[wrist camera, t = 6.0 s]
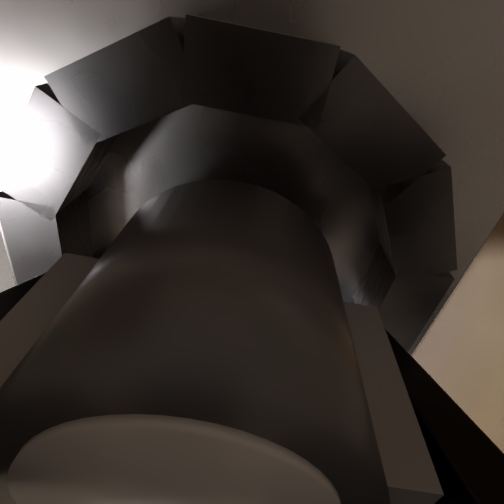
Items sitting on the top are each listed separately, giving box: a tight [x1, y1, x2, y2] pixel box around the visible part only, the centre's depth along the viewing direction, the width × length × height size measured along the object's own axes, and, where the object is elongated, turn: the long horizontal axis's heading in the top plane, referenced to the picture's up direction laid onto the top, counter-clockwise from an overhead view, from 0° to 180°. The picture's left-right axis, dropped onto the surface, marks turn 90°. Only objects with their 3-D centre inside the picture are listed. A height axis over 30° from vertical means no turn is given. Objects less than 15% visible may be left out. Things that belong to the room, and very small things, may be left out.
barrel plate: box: [0, 0, 504, 355], centre depth 10 cm, size 14×14×3 cm
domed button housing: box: [0, 180, 444, 504], centre depth 7 cm, size 7×6×5 cm
